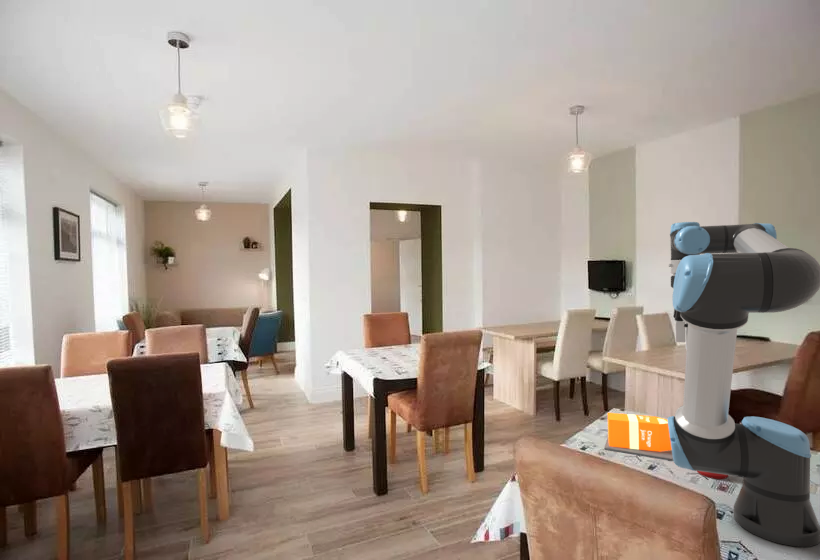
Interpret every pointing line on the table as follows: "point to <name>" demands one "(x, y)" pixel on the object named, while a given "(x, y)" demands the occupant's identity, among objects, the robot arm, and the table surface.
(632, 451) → the mat
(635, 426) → the orange juice
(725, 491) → the table surface
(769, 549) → the table surface
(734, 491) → the table surface
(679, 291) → the robot arm
